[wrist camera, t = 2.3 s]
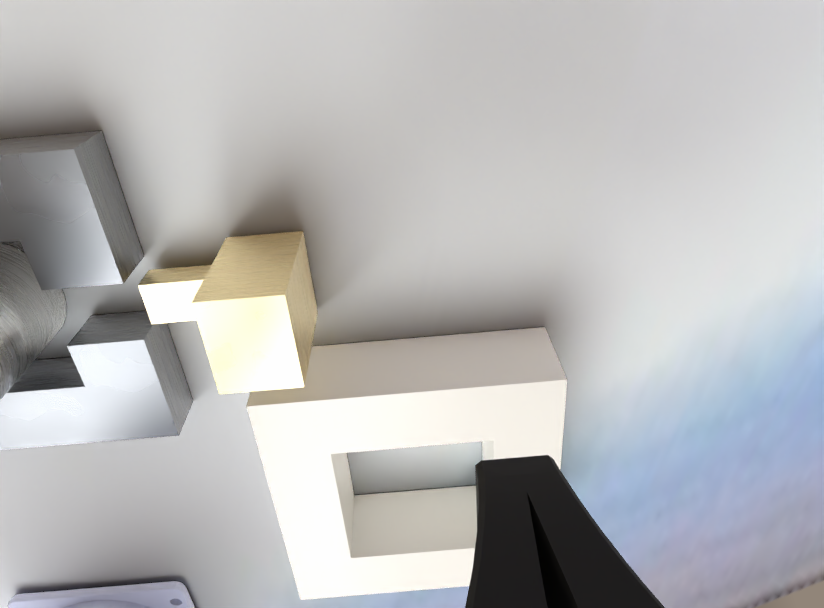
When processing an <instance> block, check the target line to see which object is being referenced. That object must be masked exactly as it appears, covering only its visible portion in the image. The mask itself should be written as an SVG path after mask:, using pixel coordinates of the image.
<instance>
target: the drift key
mask: <svg viewBox="0 0 824 608" xmlns="http://www.w3.org/2000/svg"><path fill="white" fill-rule="evenodd" d="M138 287H139V290H140V293H141V296H142V298H143V301H144V304H145V307H146V310H147V313H148V315H149V318H150V321H151V324H160V323H172V322H184V321H196V320H197V323H198V327H199V330H200V333H201V336H202V340H203V343H204V346H205V350H206V353H207V356H208V359H209V363H210V366H211V369H212V372H213V376H214V379H215V382H216V385H217V389H218V392H219V394H229V393H241V392H253V391H265V390H277V389H289V388H301V387H305V381H306V376H307V370H308V365H309V359H310V353H311V348H312V342H313V337H314V331H315V325H316V320H317V314H318V311H317V305H316V300H315V294H314V289H313V283H312V278H311V272H310V267H309V261H308V256H307V250H306V245H305V239H304V234H303V231H296V232H284V233H273V234H261V235H249V236H237V237H226V239H225V241H224V243H223V245H222V247H221V248H220V250H219V252H218V254H217V256H216V258H215V260H214V261H213V263H212V265H203V266H191V267H179V268H167V269H155V270H149V271H148V272H147V273H146V275H145V276H144V278H143V279H142V280H141V282H140V283H139V285H138Z"/></svg>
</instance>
